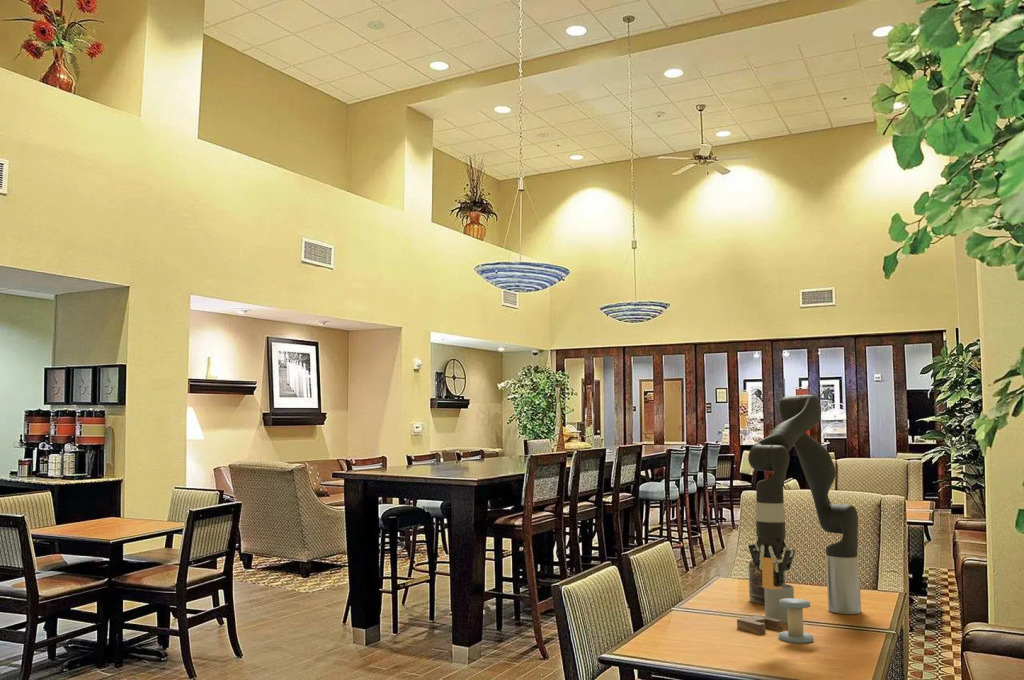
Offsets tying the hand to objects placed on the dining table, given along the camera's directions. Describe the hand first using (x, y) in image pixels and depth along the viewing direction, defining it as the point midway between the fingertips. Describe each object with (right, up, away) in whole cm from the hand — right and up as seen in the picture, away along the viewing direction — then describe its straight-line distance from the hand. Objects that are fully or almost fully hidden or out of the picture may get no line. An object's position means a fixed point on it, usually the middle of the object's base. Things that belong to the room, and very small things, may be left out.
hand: (772, 584), depth 218 cm
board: (+2, -17, +16) cm, 24 cm away
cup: (+11, -19, +28) cm, 35 cm away
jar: (+15, -22, +53) cm, 59 cm away
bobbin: (+8, -16, +5) cm, 19 cm away
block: (0, -1, 0) cm, 1 cm away
